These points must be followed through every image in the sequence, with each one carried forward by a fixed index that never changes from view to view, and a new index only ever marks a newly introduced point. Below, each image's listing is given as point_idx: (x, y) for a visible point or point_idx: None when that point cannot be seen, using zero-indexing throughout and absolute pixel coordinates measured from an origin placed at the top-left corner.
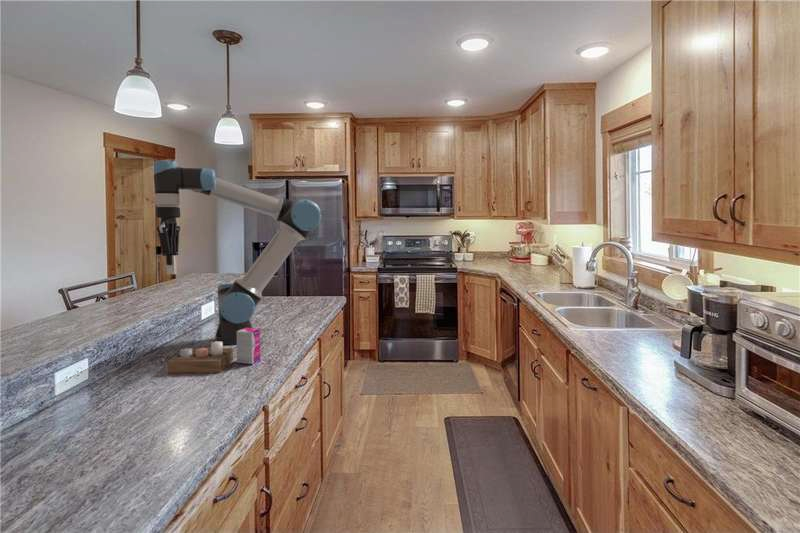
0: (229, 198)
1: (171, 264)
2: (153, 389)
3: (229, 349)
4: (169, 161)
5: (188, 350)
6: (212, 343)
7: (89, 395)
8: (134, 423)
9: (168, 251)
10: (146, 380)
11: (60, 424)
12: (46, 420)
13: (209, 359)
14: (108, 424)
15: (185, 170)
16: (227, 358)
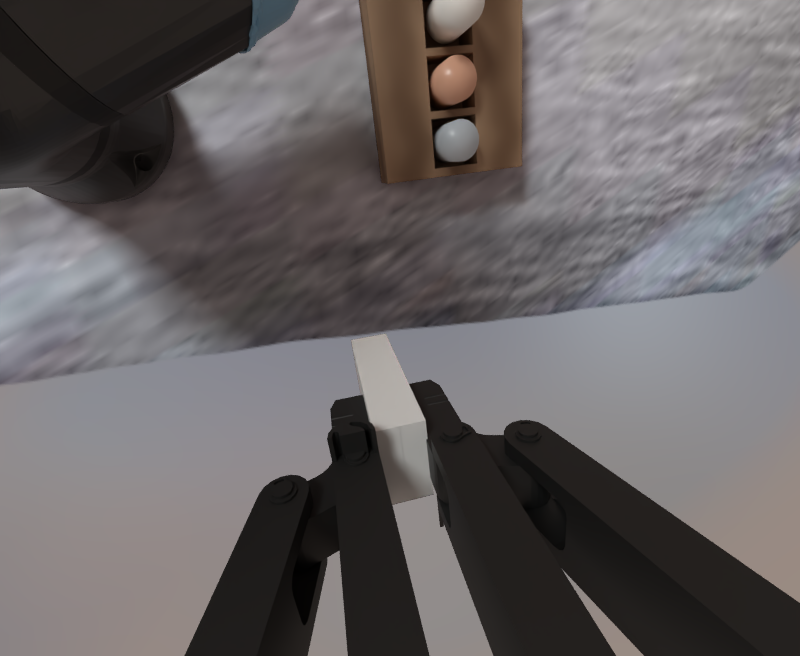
0: None
1: (420, 384)
2: (610, 138)
3: None
4: None
5: (469, 126)
6: (473, 16)
7: (624, 266)
8: (784, 62)
9: (563, 443)
10: (548, 198)
11: (748, 215)
12: (725, 254)
13: (507, 20)
14: (773, 118)
15: None
16: None
